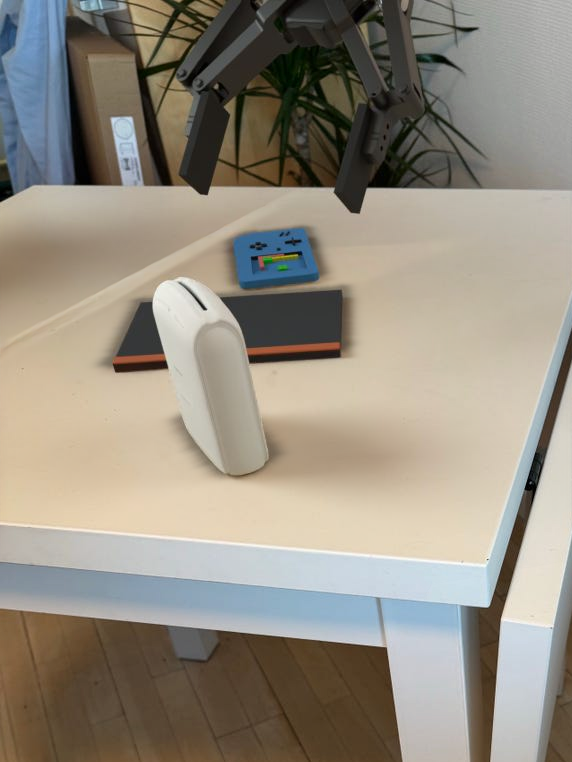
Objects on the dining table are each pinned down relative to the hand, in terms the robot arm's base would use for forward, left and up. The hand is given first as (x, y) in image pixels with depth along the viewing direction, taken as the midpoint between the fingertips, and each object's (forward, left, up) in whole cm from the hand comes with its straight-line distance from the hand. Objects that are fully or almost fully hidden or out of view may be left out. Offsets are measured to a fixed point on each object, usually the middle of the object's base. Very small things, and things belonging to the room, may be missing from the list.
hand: (267, 194), depth 67 cm
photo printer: (0, -10, -16) cm, 19 cm away
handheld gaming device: (-19, +25, -15) cm, 35 cm away
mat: (-12, +8, -15) cm, 21 cm away
